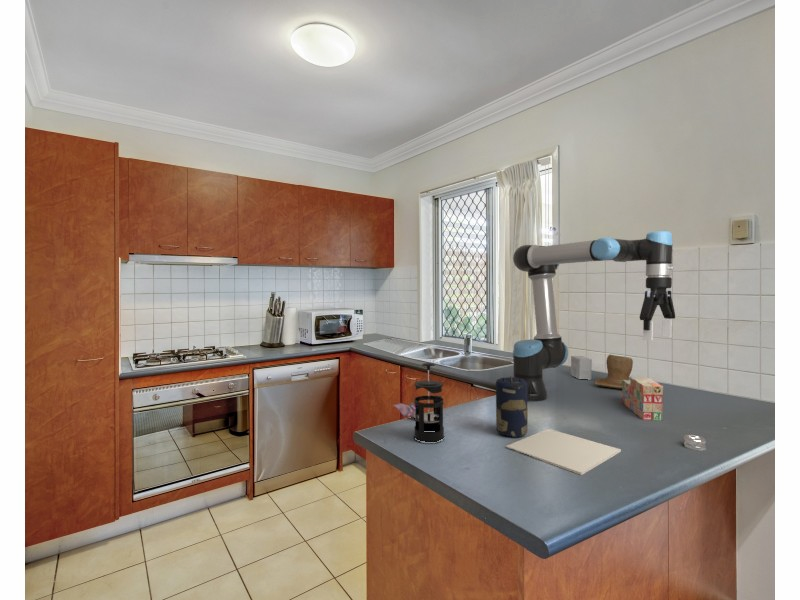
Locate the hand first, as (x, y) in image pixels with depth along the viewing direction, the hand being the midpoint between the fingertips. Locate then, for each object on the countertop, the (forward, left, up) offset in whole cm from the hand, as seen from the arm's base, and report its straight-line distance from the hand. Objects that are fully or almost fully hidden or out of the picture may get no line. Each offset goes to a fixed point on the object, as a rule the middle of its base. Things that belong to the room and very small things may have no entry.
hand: (657, 338), depth 139 cm
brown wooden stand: (-29, +34, -28) cm, 53 cm away
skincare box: (-49, +42, -28) cm, 70 cm away
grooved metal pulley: (+16, -21, -28) cm, 38 cm away
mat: (-7, -51, -28) cm, 58 cm away
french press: (-38, -73, -28) cm, 86 cm away
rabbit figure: (-57, -65, -28) cm, 91 cm away
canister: (-24, -51, -28) cm, 62 cm away
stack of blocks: (-7, +4, -28) cm, 29 cm away
